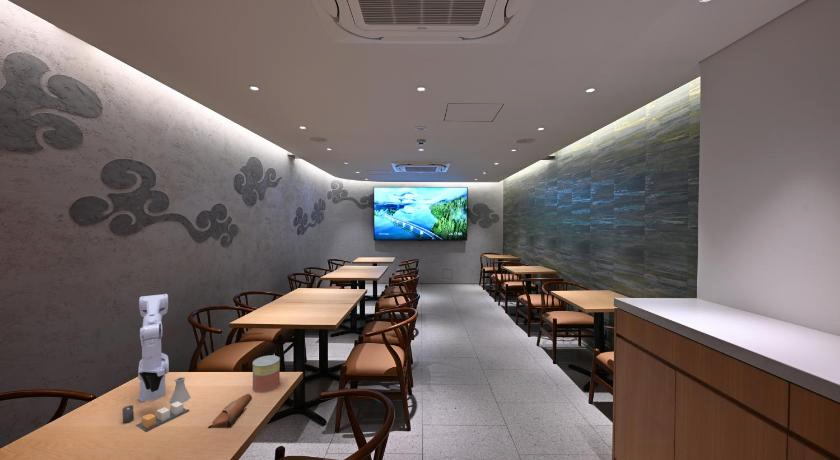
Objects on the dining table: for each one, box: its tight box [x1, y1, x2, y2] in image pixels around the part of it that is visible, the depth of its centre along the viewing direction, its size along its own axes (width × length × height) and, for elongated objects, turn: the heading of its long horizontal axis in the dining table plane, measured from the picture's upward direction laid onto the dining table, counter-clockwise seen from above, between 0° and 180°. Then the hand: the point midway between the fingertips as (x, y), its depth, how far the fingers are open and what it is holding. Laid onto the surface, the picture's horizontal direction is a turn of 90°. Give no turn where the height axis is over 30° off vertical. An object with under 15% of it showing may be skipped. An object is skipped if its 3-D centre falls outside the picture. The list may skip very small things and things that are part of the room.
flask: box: [169, 376, 191, 404], centre depth 133 cm, size 7×7×10 cm
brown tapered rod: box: [207, 393, 253, 429], centre depth 125 cm, size 18×7×7 cm
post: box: [121, 404, 135, 424], centre depth 119 cm, size 4×4×6 cm
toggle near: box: [169, 401, 184, 415], centre depth 125 cm, size 4×2×3 cm, turn 63°
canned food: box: [252, 354, 281, 394], centre depth 146 cm, size 11×11×12 cm
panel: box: [135, 407, 190, 433], centre depth 121 cm, size 8×14×2 cm, turn 153°
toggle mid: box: [156, 406, 170, 421], centre depth 121 cm, size 4×2×3 cm, turn 63°
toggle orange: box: [141, 413, 157, 428], centre depth 117 cm, size 4×2×3 cm, turn 63°
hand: (152, 389), depth 124 cm, fingers open, 3 cm apart
